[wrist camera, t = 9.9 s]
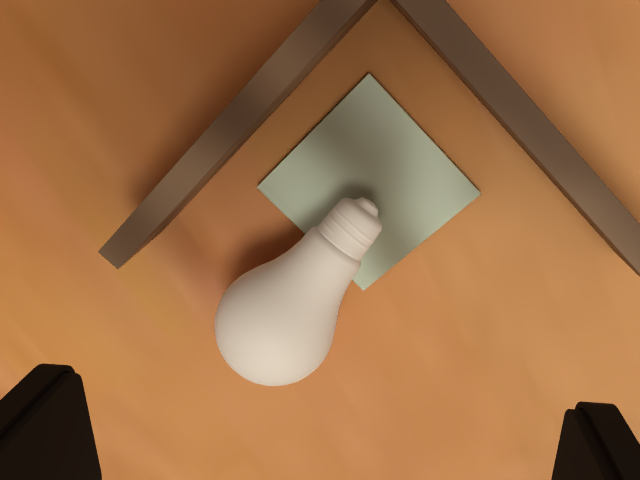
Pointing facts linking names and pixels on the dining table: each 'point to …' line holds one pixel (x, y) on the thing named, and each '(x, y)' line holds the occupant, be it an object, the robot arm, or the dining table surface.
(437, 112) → the dining table surface
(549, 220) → the dining table surface
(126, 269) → the dining table surface
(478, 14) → the dining table surface
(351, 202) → the lightbulb
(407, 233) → the corner fence
